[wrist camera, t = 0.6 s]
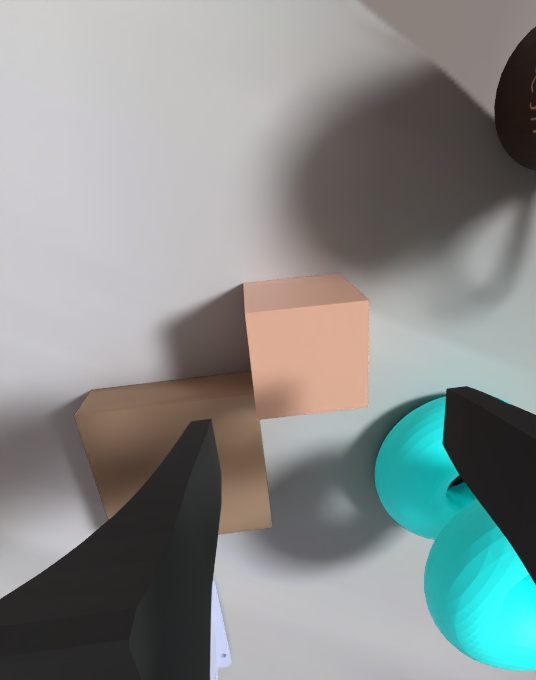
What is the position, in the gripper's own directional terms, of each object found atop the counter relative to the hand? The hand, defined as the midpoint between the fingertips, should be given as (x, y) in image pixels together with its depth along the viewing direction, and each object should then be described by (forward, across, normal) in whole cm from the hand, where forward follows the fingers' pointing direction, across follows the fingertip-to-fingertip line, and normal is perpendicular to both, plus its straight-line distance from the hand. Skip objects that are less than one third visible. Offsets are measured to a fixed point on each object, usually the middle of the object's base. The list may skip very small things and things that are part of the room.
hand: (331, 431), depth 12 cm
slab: (+10, +7, +7) cm, 14 cm away
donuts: (+10, -9, +10) cm, 17 cm away
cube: (+10, 0, 0) cm, 10 cm away
